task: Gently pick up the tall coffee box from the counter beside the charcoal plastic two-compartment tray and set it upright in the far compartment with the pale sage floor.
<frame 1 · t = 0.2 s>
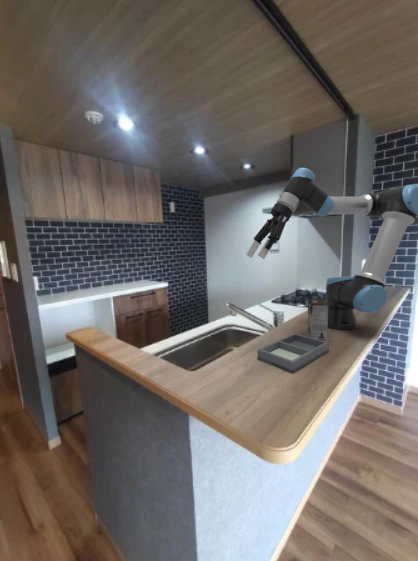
hand: (254, 256, 98), 35 cm above the table, tool tilted 35°, fingers open, 13 cm apart
coffee box: (316, 339, 108), on the table
compartment tray: (293, 355, 94), on the table
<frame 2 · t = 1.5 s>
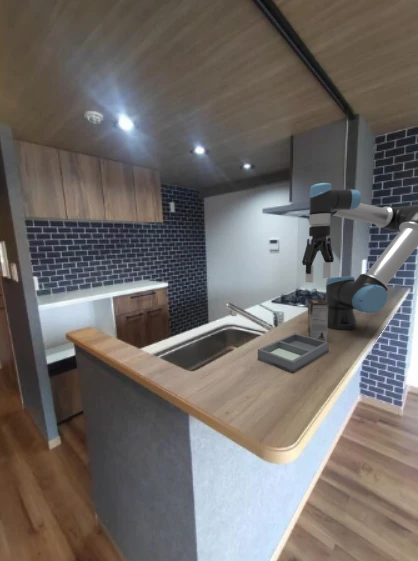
hand: (318, 280, 104), 25 cm above the table, tool pointing down, fingers open, 13 cm apart
nothing on the table moved.
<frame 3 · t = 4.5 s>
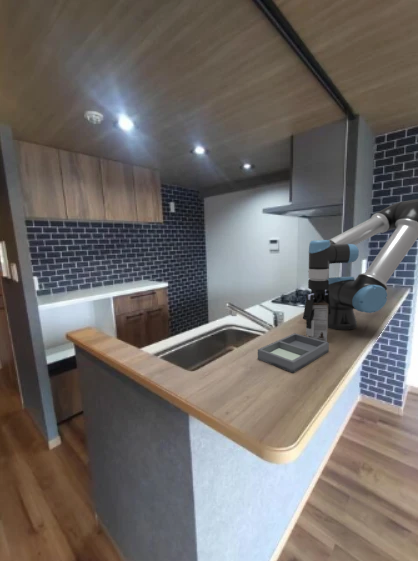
hand: (317, 332, 108), 3 cm above the table, tool pointing down, fingers closed on coffee box, 11 cm apart
coffee box: (316, 339, 108), on the table, touching gripper
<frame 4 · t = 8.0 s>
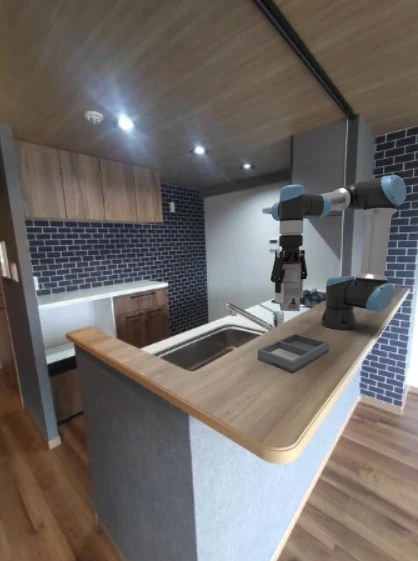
hand: (289, 299, 90), 21 cm above the table, tool pointing down, fingers closed on coffee box, 11 cm apart
coffee box: (289, 308, 90), point 18 cm above the table, touching gripper
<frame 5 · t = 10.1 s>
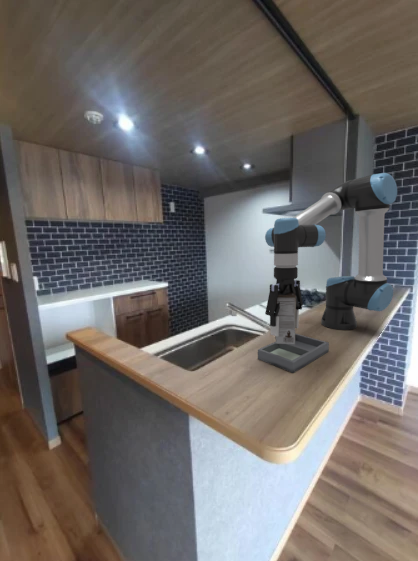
hand: (284, 331, 89), 10 cm above the table, tool pointing down, fingers closed on coffee box, 11 cm apart
coffee box: (284, 339, 89), point 7 cm above the table, touching gripper
when the fingers open (7 cm above the table, at t = 11.8 s): coffee box stays where it is, resting on compartment tray.
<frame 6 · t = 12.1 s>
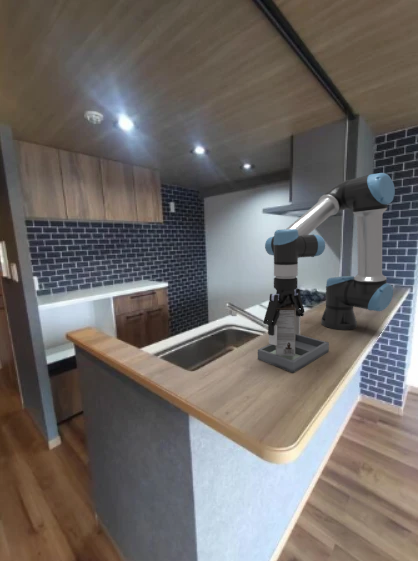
hand: (285, 338, 89), 8 cm above the table, tool pointing down, fingers open, 13 cm apart
coffee box: (284, 350, 90), point 3 cm above the table, touching compartment tray
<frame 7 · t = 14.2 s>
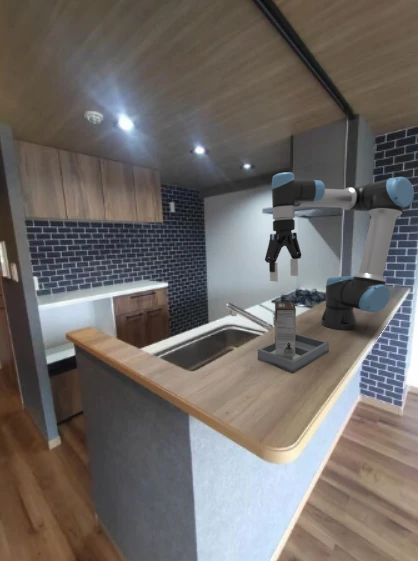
hand: (284, 278, 97), 27 cm above the table, tool pointing down, fingers open, 13 cm apart
nothing on the table moved.
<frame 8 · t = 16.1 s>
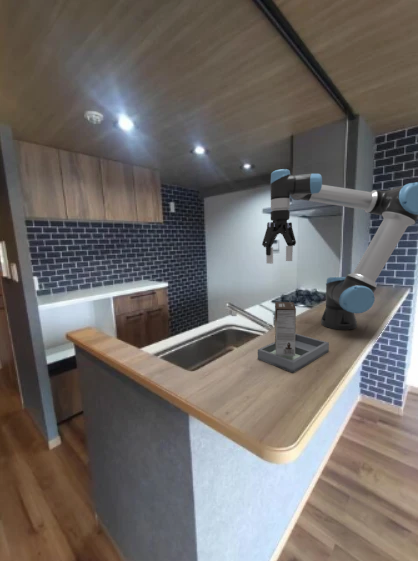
hand: (279, 262, 110), 32 cm above the table, tool pointing down, fingers open, 13 cm apart
nothing on the table moved.
at the end: coffee box 0.1 cm from the target spot on the compartment tray, point 3.3 cm above the compartment tray's base; coffee box tilted 0°; the gripper is holding nothing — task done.
